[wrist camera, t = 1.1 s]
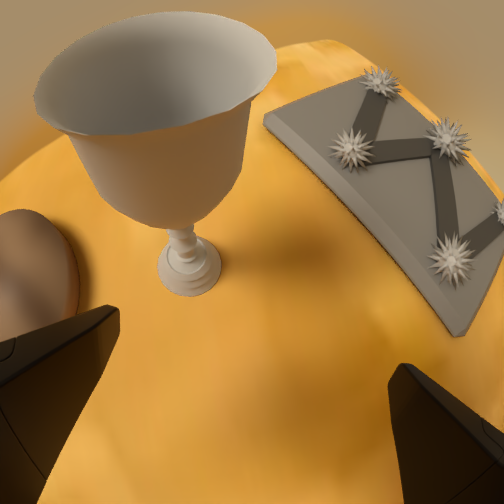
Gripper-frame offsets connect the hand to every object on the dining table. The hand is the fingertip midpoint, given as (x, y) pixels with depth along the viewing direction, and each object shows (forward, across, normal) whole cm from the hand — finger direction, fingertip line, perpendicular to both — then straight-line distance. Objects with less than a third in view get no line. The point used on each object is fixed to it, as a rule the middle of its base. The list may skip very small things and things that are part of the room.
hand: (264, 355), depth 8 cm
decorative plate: (+25, -16, -6) cm, 30 cm away
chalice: (+15, +5, +4) cm, 16 cm away
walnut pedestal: (+10, +20, +9) cm, 24 cm away
